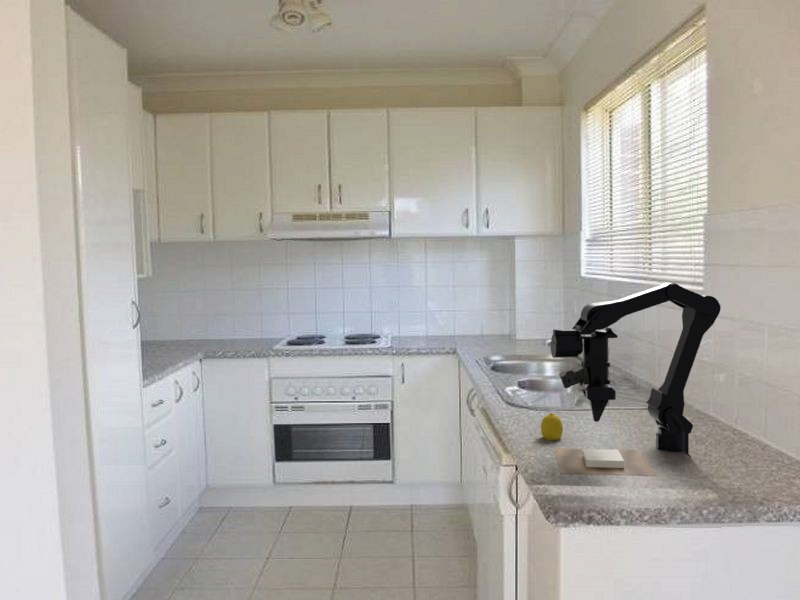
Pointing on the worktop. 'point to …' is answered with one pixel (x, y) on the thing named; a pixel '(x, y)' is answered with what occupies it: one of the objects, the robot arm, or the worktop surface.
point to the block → (602, 458)
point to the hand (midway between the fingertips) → (596, 421)
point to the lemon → (551, 427)
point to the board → (575, 464)
